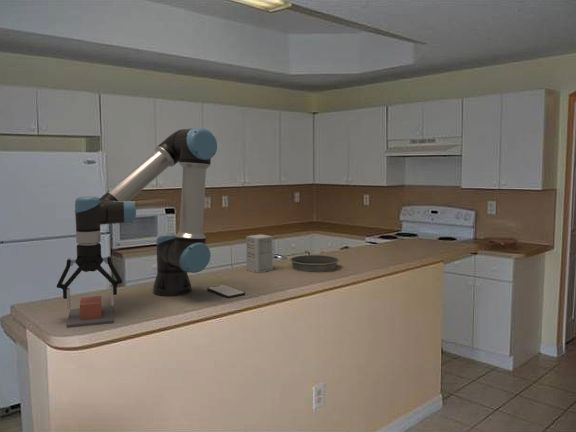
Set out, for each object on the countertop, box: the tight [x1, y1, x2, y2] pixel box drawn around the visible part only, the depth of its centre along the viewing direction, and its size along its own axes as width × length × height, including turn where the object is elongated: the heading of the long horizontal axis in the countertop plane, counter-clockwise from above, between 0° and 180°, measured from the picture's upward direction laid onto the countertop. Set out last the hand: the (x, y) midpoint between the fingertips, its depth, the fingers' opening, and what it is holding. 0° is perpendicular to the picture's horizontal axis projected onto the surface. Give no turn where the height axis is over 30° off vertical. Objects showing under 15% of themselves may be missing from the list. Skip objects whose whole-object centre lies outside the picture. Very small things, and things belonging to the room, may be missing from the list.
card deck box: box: [79, 295, 103, 320], centre depth 169 cm, size 10×6×5 cm, turn 20°
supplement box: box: [245, 233, 274, 274], centre depth 245 cm, size 10×9×17 cm
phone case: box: [206, 284, 246, 299], centre depth 203 cm, size 9×2×16 cm
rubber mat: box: [66, 305, 115, 328], centre depth 170 cm, size 14×18×1 cm
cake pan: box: [289, 254, 340, 273], centre depth 253 cm, size 25×25×4 cm
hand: (90, 306), depth 169 cm, fingers open, 13 cm apart
